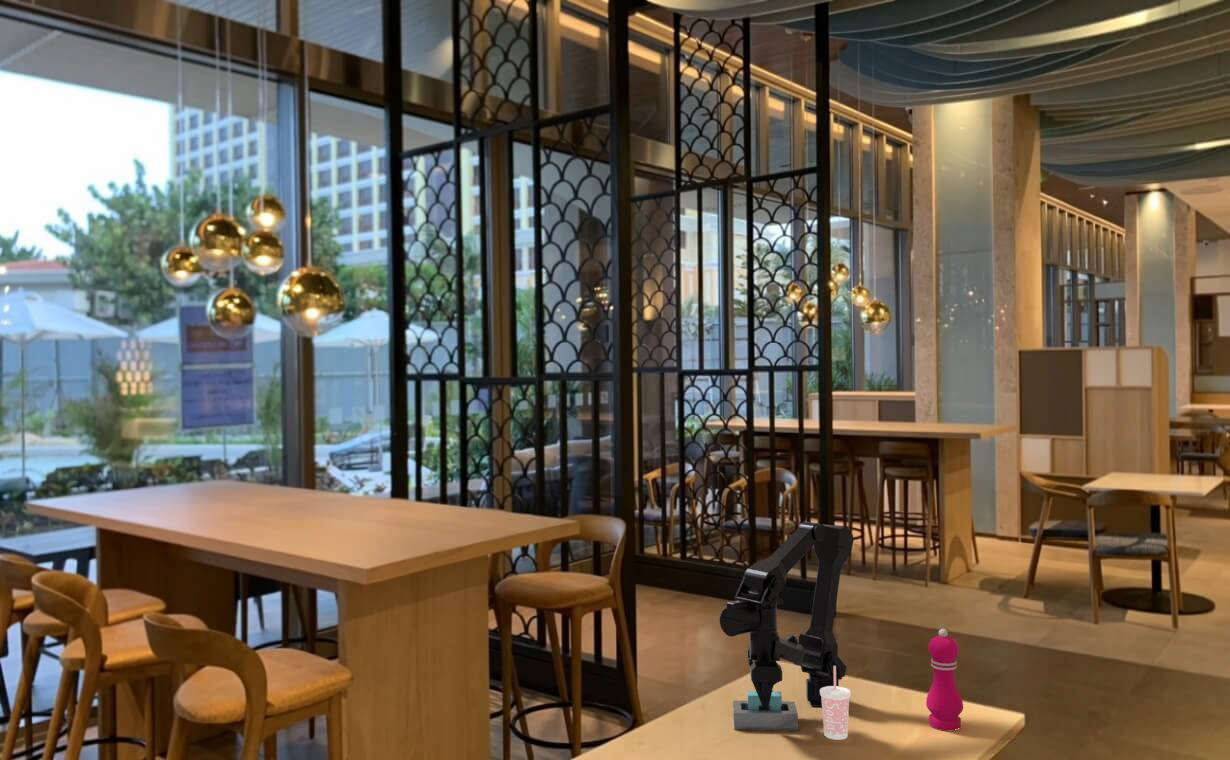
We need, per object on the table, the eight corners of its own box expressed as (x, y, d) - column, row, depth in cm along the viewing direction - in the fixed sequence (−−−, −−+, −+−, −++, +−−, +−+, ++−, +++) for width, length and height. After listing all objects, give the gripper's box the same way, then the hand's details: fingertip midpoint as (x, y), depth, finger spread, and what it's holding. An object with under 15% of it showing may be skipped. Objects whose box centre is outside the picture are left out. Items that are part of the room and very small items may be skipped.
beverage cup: (814, 734, 184) (812, 665, 185) (833, 727, 188) (832, 659, 188) (838, 743, 180) (837, 672, 180) (857, 736, 183) (856, 666, 183)
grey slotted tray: (794, 718, 194) (794, 701, 194) (798, 730, 186) (797, 713, 187) (733, 716, 195) (732, 700, 195) (734, 729, 188) (734, 712, 188)
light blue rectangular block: (748, 722, 190) (747, 695, 190) (747, 716, 193) (747, 690, 193) (782, 722, 189) (781, 696, 189) (781, 717, 192) (780, 691, 192)
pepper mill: (964, 722, 190) (962, 626, 190) (962, 734, 183) (960, 634, 184) (928, 717, 193) (926, 623, 193) (924, 729, 186) (922, 631, 187)
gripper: (807, 640, 181) (808, 718, 181) (797, 617, 200) (798, 688, 199) (750, 639, 182) (752, 717, 182) (746, 616, 201) (747, 687, 200)
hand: (764, 702), depth 191 cm, fingers open, 7 cm apart
